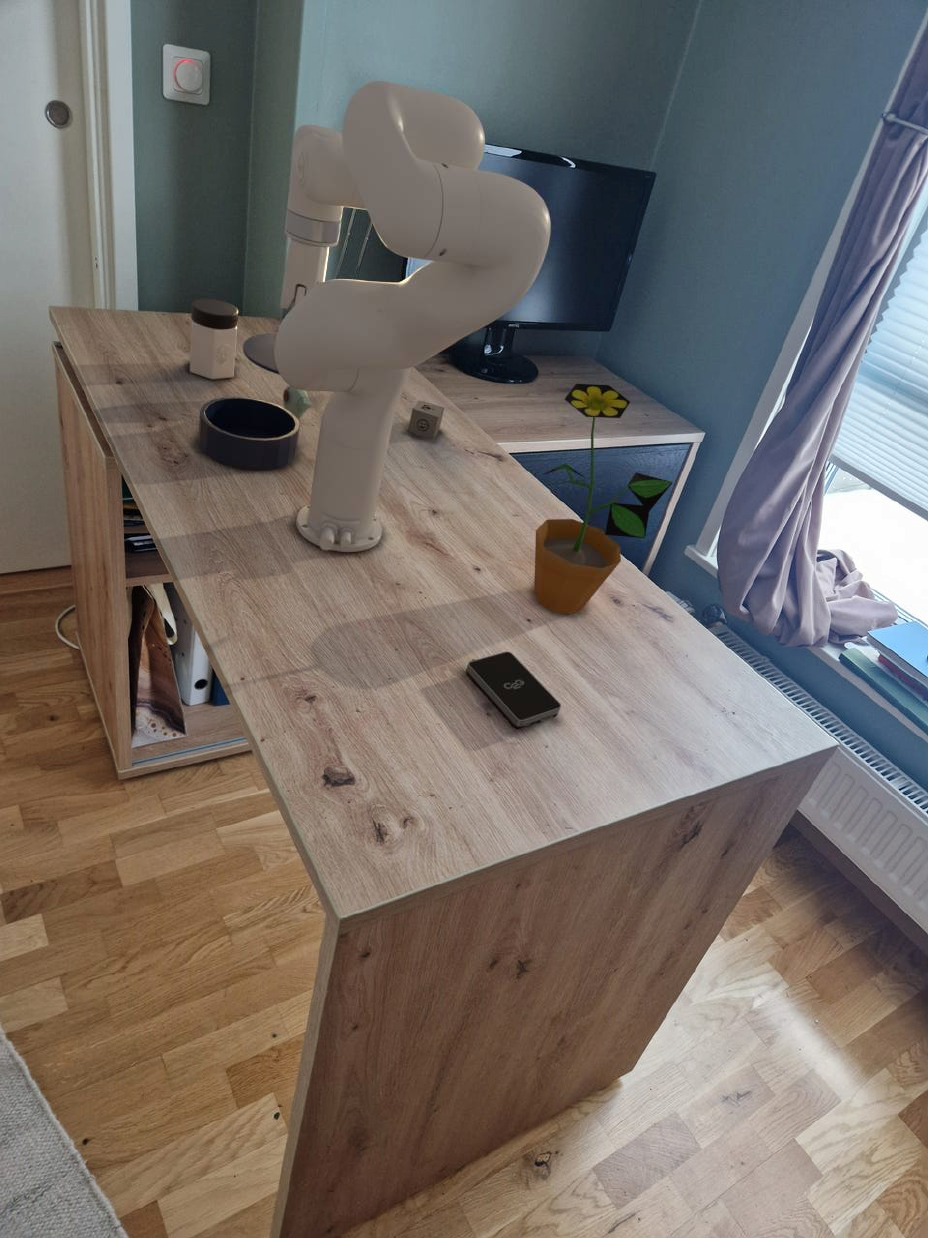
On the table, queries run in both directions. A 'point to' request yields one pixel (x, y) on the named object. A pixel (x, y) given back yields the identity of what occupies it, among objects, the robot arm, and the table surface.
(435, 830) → the table surface
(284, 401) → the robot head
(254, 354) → the lid
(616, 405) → the potted plant
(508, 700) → the external hard drive
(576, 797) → the table surface
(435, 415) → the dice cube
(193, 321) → the jar
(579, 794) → the table surface
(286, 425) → the tin
